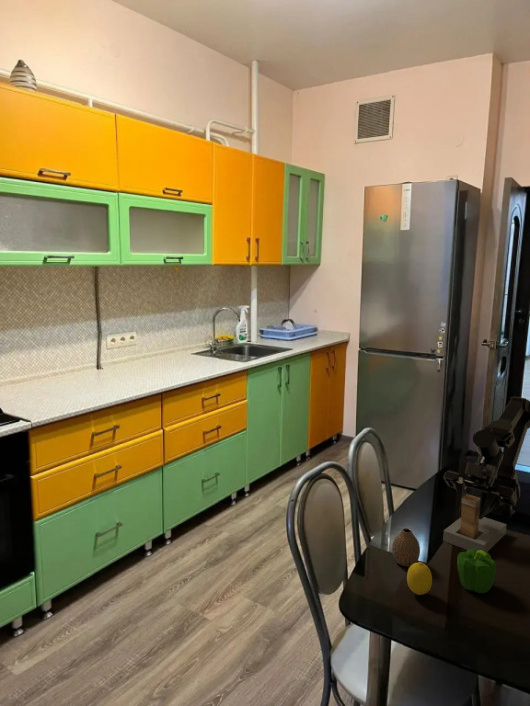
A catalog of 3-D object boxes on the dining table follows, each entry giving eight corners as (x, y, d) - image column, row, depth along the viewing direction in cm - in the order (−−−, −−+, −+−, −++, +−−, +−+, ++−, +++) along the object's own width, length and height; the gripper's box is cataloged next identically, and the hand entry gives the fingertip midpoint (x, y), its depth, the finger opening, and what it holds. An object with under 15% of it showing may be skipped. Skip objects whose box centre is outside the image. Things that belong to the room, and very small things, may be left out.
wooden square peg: (464, 537, 144) (467, 494, 142) (477, 542, 142) (480, 498, 140) (459, 542, 142) (461, 498, 140) (472, 547, 139) (475, 502, 137)
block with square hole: (467, 521, 154) (468, 511, 154) (505, 534, 147) (506, 524, 146) (442, 540, 143) (443, 530, 142) (483, 555, 135) (483, 545, 135)
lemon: (432, 603, 116) (434, 570, 115) (406, 600, 117) (408, 567, 116) (429, 589, 121) (431, 557, 120) (405, 586, 122) (406, 554, 121)
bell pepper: (451, 576, 126) (453, 538, 125) (485, 577, 126) (488, 539, 124) (463, 597, 118) (466, 557, 116) (499, 598, 118) (503, 558, 116)
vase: (419, 557, 134) (421, 526, 133) (418, 572, 128) (420, 539, 127) (392, 553, 137) (394, 521, 135) (390, 566, 130) (391, 534, 129)
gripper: (448, 443, 147) (427, 491, 141) (517, 459, 134) (497, 513, 128) (458, 462, 154) (439, 509, 148) (524, 479, 141) (506, 531, 135)
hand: (468, 515), depth 140 cm, fingers open, 6 cm apart
